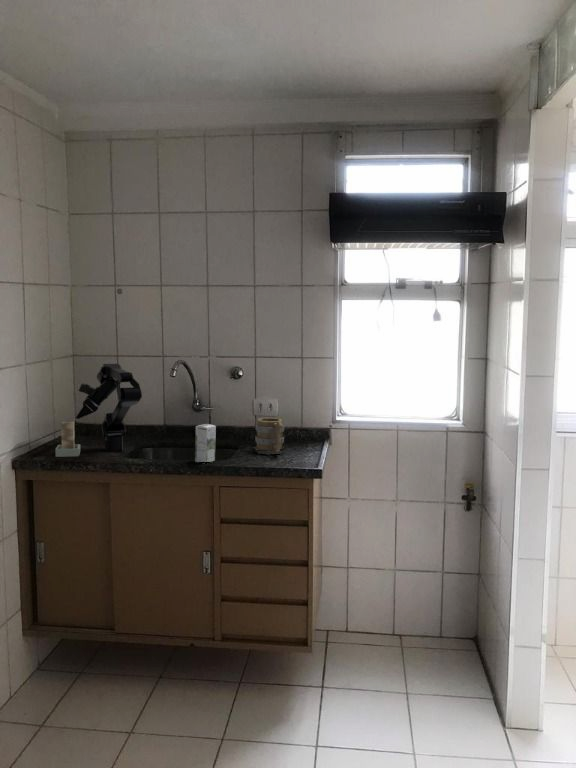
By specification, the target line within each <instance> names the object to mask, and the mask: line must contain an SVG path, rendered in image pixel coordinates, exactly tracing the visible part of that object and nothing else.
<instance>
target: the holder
mask: <svg viewBox="0 0 576 768" xmlns="http://www.w3.org/2000/svg"><path fill="white" fill-rule="evenodd" d="M80 453H81V444H79V443H78V444H75V449H62V444H58V445H57V446H56V447H55V457H57V458H59V457H61V458H62V457H80Z"/></svg>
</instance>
